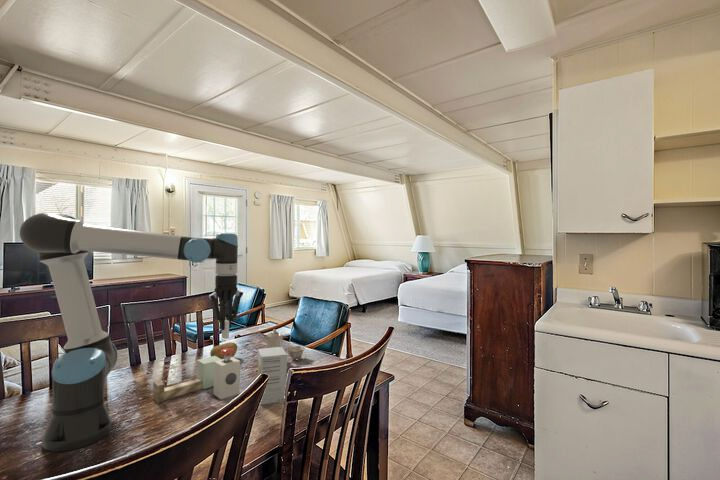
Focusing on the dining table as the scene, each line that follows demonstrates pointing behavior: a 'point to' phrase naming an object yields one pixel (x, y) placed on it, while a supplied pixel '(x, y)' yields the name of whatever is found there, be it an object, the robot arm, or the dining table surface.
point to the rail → (174, 389)
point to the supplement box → (273, 373)
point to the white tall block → (226, 378)
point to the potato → (217, 350)
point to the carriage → (206, 371)
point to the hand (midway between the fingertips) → (225, 337)
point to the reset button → (227, 354)
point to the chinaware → (274, 341)
